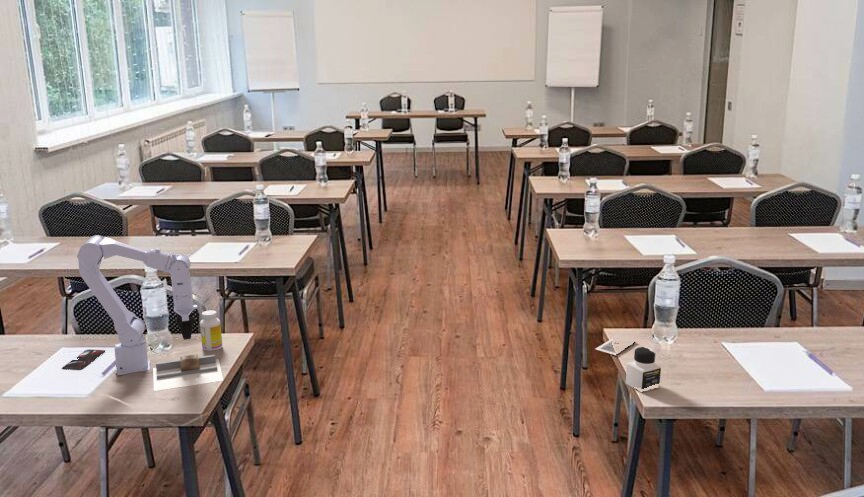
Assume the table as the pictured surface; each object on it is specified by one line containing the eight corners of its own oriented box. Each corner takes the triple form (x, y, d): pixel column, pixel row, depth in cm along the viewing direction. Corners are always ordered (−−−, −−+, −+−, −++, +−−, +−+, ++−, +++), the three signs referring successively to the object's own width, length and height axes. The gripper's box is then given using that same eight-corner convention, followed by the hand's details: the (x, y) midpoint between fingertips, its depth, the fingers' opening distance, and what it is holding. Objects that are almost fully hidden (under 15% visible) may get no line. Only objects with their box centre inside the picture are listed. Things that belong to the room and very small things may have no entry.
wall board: (154, 392, 222) (152, 381, 221) (153, 369, 237) (152, 359, 236) (223, 382, 228) (222, 371, 227) (218, 360, 244) (217, 350, 243)
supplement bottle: (225, 344, 256) (222, 309, 252) (218, 352, 250) (215, 316, 246) (206, 343, 257) (203, 308, 253) (199, 351, 250) (195, 315, 247)
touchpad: (594, 352, 251) (595, 346, 250) (616, 338, 262) (616, 333, 261) (615, 358, 246) (616, 352, 245) (636, 344, 257) (637, 338, 256)
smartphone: (60, 368, 237) (86, 349, 252) (60, 370, 238) (86, 351, 252) (81, 369, 237) (106, 350, 251) (82, 371, 237) (107, 351, 251)
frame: (181, 373, 233) (180, 360, 231) (181, 369, 236) (179, 356, 235) (200, 371, 234) (198, 358, 233) (199, 366, 238) (197, 353, 237)
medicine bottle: (641, 393, 221) (644, 356, 217) (625, 384, 227) (627, 347, 224) (659, 388, 224) (663, 351, 221) (642, 379, 230) (646, 343, 227)
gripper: (197, 299, 229) (201, 341, 232) (194, 285, 242) (198, 324, 246) (173, 302, 226) (177, 344, 230) (171, 288, 239) (175, 327, 243)
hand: (186, 334), depth 238 cm, fingers open, 7 cm apart
